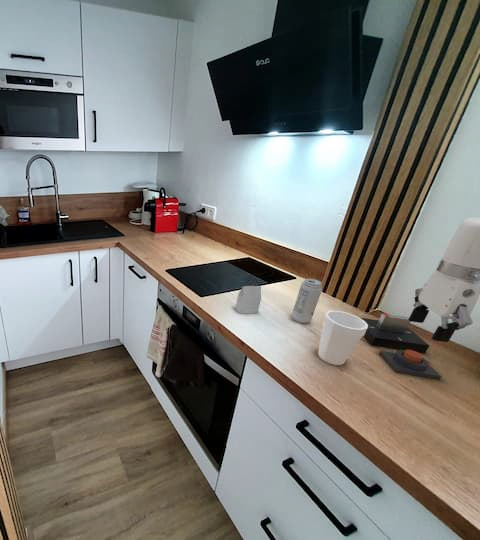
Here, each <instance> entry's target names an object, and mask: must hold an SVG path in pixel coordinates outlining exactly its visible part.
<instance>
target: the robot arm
mask: <svg viewBox="0 0 480 540" xmlns="http://www.w3.org/2000/svg"><path fill="white" fill-rule="evenodd" d="M414 295H415V296H414V299H413V300H414V303H413V305H412V306H413V310H412V312H411V314H410V315H409V316H408V318H409V319H408V320H409V321H411V322H412V323H420V324H423V323H424V322H425V320H426V318H427V317H428V315H429V313H430V311H432V312H434V313H435V314H437V315H438V316H440V319H441V320H440V321H441V325H438V326H437V328H436V330H435V331H434V332H433V335H432V336H431V340H432V341H434V342H435V341H436V342H443V343H449V342H450V341H451V338H452V336H453V335H454V333H455V332H456V331H459V330H461V329H465V328H466V327H468V326H471V325H472V324H473V319H472V317H471V314H472V312H473V311H474V308H475V307H476V305H477V303H478V300H479V298H480V216H478V217H467V218H465V219H462V220H461V221H460V222H459V224H458V226H457V227H456V229H455V231H454V233H453V236H452V238H451V239H450V241H449V242H448V245H447V247H446V249H445V250H444V253H443V255H442V257H441V258H440V261H439V263H438V265H437V267H436V268H435V269H434V271H432V273H431V274H430V276H429V277H428V279H427V280H426V281H425V283H424V285H423V286H422V287H421V288H416V289H415V291H414ZM449 320H451V322H449ZM411 322H410V323H411Z"/></svg>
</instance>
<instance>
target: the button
mask: <svg viewBox="0 0 480 540" xmlns="http://www.w3.org/2000/svg"><path fill="white" fill-rule="evenodd" d="M403 356H404V357H405V358H406V359H408V360H410V361H413V362H416V363H420V362H421V360H422V359H423V358H424V355H423V354H422V353H418V352H416V351H413V350H405V352H404V354H403Z"/></svg>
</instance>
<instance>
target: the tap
mask: <svg viewBox="0 0 480 540" xmlns="http://www.w3.org/2000/svg"><path fill="white" fill-rule="evenodd" d="M408 319H409V316H402V315H394V314H388V313H381V314H380V316H379V319H378V320H379V321H378V323H377V325H376V327H377V328H378V329H379V330H385V331H392V332H399V333H405V331H406V330H407V328H409V326H410V324H411V321H409V320H408Z"/></svg>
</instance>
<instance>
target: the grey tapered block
mask: <svg viewBox="0 0 480 540" xmlns="http://www.w3.org/2000/svg"><path fill="white" fill-rule="evenodd" d="M261 301H262V286H261V285H246V286H245V285H243V286H242V287H241V289H240V291H239V292H238V294H237V298H236V303H235V310H236V311H237V312H238V313H239V314H259V313H258V312H259V309H260V305H261Z"/></svg>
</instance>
